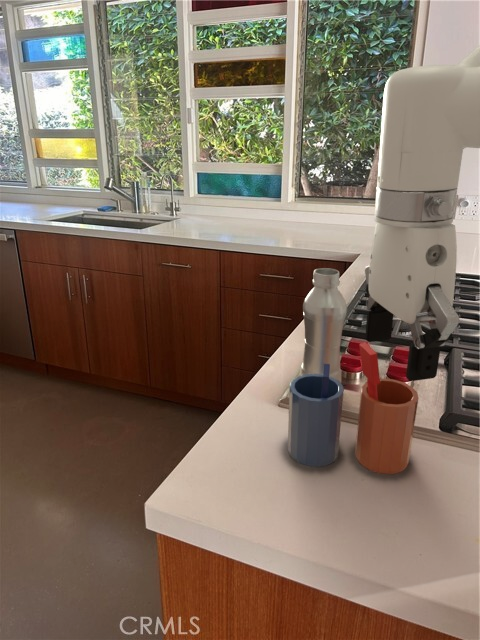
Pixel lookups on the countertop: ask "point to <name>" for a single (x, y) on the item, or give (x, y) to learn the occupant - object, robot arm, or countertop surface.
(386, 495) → the countertop surface
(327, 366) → the navy spoon
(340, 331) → the silver bottle
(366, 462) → the terracotta cup
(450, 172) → the robot arm
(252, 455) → the countertop surface
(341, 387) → the blue cup
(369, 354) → the red spatula
